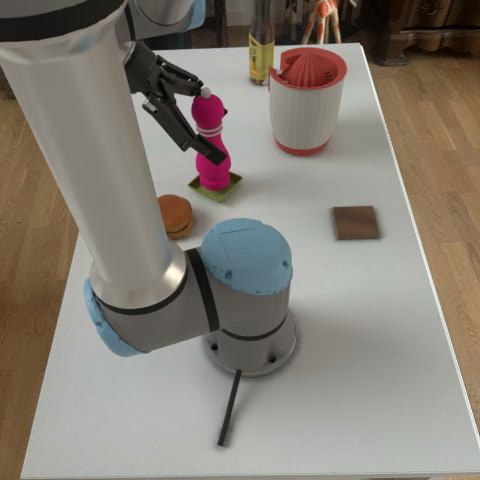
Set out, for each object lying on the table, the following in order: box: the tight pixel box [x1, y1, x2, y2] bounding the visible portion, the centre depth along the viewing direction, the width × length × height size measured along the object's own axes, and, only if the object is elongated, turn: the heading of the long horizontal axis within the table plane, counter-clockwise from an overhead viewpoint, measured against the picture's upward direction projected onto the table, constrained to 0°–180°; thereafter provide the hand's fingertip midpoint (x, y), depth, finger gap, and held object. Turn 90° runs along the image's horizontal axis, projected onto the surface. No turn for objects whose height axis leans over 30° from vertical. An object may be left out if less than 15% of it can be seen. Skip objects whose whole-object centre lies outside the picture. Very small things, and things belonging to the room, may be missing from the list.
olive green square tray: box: [187, 170, 244, 203], centre depth 94 cm, size 9×9×2 cm
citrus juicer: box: [261, 46, 348, 157], centre depth 94 cm, size 16×17×20 cm
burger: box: [157, 194, 195, 240], centre depth 88 cm, size 10×9×5 cm
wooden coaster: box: [331, 205, 380, 241], centre depth 87 cm, size 8×8×1 cm
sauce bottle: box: [248, 0, 275, 86], centre depth 108 cm, size 6×6×20 cm
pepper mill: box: [190, 87, 232, 191], centre depth 85 cm, size 7×7×20 cm
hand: (222, 137), depth 84 cm, fingers open, 13 cm apart
